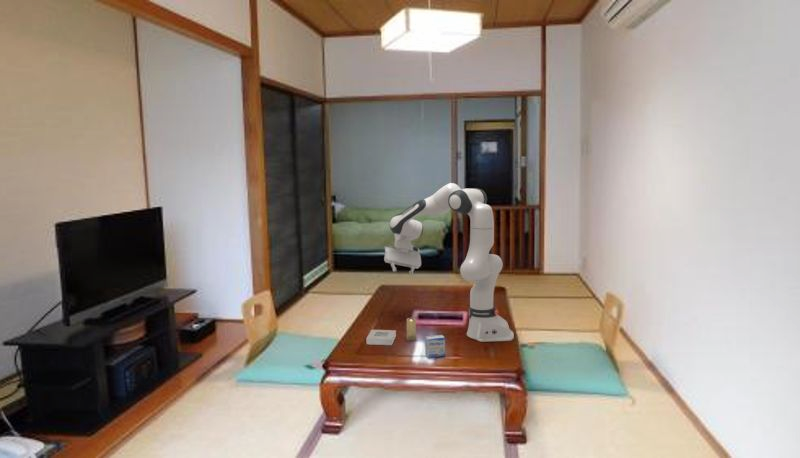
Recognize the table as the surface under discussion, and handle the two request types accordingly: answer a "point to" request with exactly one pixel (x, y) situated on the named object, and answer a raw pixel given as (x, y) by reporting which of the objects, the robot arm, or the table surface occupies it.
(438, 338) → the medicine box
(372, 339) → the aluminium jig
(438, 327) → the table surface
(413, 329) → the brass bushing
